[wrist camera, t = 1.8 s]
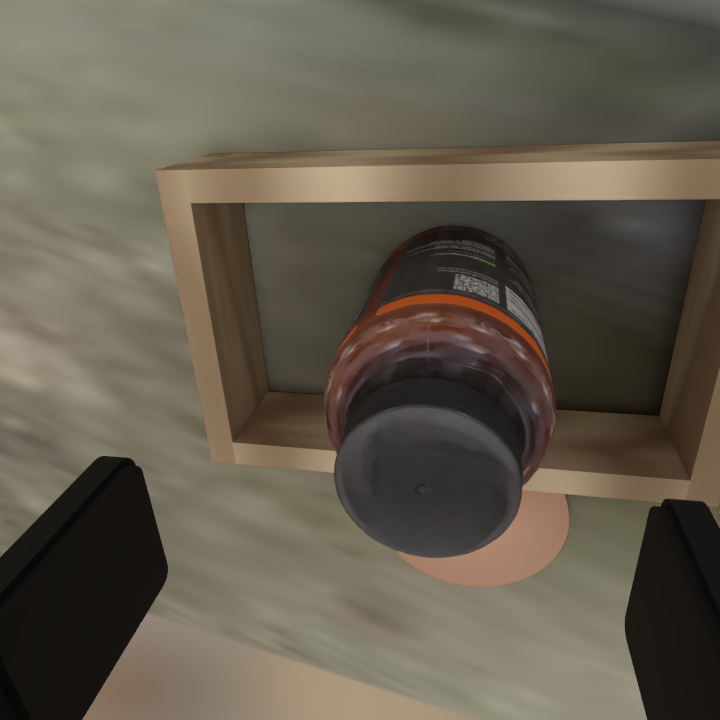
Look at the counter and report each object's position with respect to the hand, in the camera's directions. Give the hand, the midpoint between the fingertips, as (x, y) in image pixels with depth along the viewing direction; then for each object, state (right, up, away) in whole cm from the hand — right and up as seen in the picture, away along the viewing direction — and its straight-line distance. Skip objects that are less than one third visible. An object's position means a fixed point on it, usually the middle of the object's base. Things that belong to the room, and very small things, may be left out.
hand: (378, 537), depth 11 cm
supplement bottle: (+3, +6, +11) cm, 13 cm away
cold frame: (+3, +6, +11) cm, 13 cm away
